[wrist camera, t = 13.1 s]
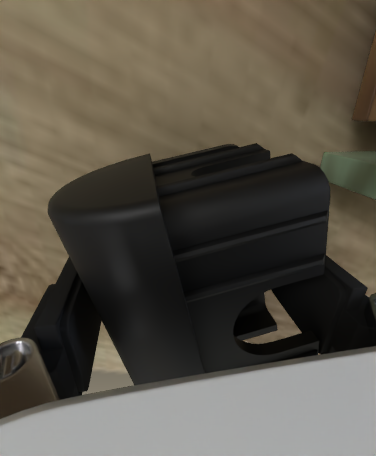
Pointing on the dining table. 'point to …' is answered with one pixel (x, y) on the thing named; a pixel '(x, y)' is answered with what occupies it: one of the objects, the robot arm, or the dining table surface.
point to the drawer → (357, 160)
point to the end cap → (195, 254)
